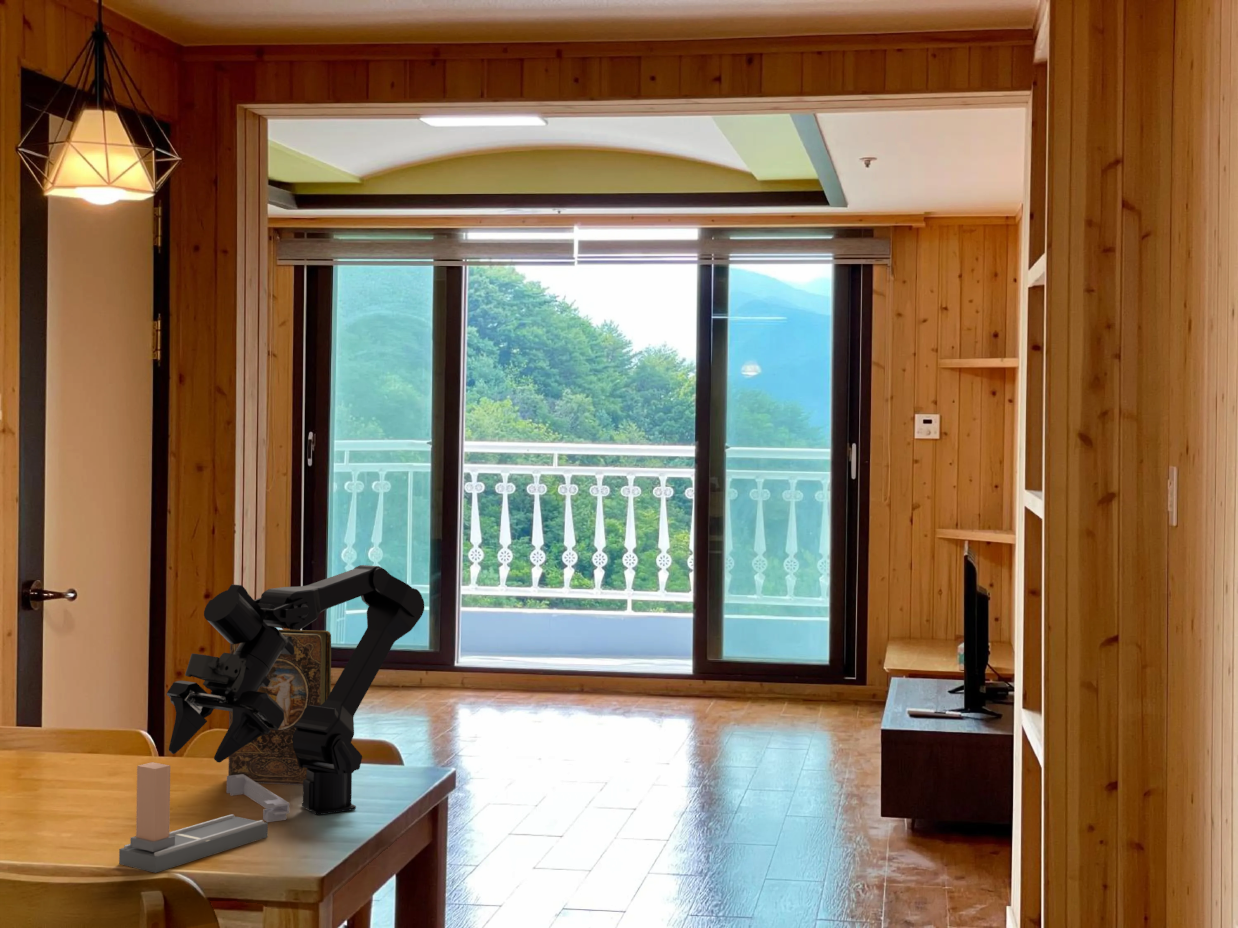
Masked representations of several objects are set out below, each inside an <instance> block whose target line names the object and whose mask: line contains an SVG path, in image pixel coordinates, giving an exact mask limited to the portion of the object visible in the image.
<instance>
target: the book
mask: <svg viewBox="0 0 1238 928" xmlns="http://www.w3.org/2000/svg"><path fill="white" fill-rule="evenodd" d="M278 630H279V631H280V632H281V633H282V635H284V636H291V637H292V644H293V646H294V651H295V653H294V654H293V655H288V654H280V655H279V656H278V658H277V660H276V661H275V663H274V665H273V666H272V668H271V670H270V671H269V673H268V675H267V676H266V677H267V678H268V679H269V680H270V681H271V682H270V683H269V685H268V687H262V686H260V688H259V690H258V691H257V692H263V693H267V694H268V695H269V696H270V697H271V698H272V699H273V700H274V701H275V702H276V703H277V704H278V705H279V706H280V707H281V708H282V709H283V710H284V721H283V722H282V724H281V726H280V727H279V729H278V730H272V729H270V732H269V734H263V735H262V736H260V737H258V738H257V739H255V740H253V741H252V742H250V743H248V744H247V745H245V746H244V747H242V748H241V749H239V750H238V751H236V752H235V753H233V754H232V755H230V756H229V757H228V768H227V770H228V774H227V776H232V775H240V774H244V775H245V776H247V777H248V778H250V779H252V780H253V781H255V782H256V783H258V784H270V785H272V784H274V785H293V786H294V785H295V786H296V785H297V786H298V785H299V786H300V785H302V786H303V780H304V779H306V769H308V768H300V767H299V765H298V761H297V758H296V754H295V752H294V748H293V742H292V737H293V734H294V732H295V730H296V728H295V727H294V725H295V724H296V723H298V721H299V720H300V718H301V716H302V714H303V712H304V710H305V708H306V707H307V706H308V705H313V706H320V705H321V704H323V703H324V702H325V701H326V699H327V698H328V696H329V694H330V692H331V691H332V688H331V687H332V634H331V632H330V631H329V630H307V629H305V630H304V629H298V630H295V629H278ZM239 644H240V643H239ZM239 644H231V643H229V653H231V654H234V652H235V651H236V649H237V648H238V646H239ZM228 712H229V715H228V716H229V719H228V728H229V727H230V725H231V723H232V715H233V712H232V711H228Z"/></svg>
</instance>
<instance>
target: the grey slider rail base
mask: <svg viewBox="0 0 1238 928" xmlns="http://www.w3.org/2000/svg"><path fill="white" fill-rule="evenodd" d="M268 823H269V822H265V821H264V820H263V819H260V820H254V819H250V818H245V817H239V816H235V814H233V813H232V814H228V815H225V816H221V817H218V818H213V819H211V820H207V821H203V822H200V823H196V824H194V825H190V826H187V827H183V828H180V829H176V830H172V831H169V835H171V836H175V845H174V846H171V847H168V848H164V849H161V850H158V851H154V852H152V851H147V850H143V849H139V848H134V847H130V843H128V844H125V845H124V847H121V848H119V852H118V853H119V854H118V855H119V857H118V862H119V863H118V865H123V866H126V867H130V868H134V869H139V870H141V871H147V872H152V873H155V874H156V873H159V872H163V871H165V870H168V869H171V868H174V867H177V866H181V865H184V864H188V863H190V862H193V861H196V860H199V859H203V858H206V857H208V856H213V855H216V854H219V853H221V852H225V851H229V850H231V849H235V848H238V847H240V846H245V845H246V844H251V843H252V842H255V841H260V840H263V839H265V838H268V837H269V836H268V835H269V834H268V830H269V829H268V828H269V826H268V825H269V824H268Z"/></svg>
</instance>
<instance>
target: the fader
mask: <svg viewBox="0 0 1238 928" xmlns="http://www.w3.org/2000/svg"><path fill="white" fill-rule="evenodd" d="M170 808H171V765H169V764H164V763H159V762H153V761H152V762H148V763H144V764H139V765H137V767H136V816H135V817H136V824H135V825H136V827H135V830H136V833H135V836H131V837H130V843H129V844H130V847H134V848H139V849H143V850H147V851H152V852H154V851H158V850H161V849H164V848H168V847H171V846H174V845H175V836H171V835H169V832H170V829H171V828H170V827H171V826H170V824H171V822H170V816H171V815H170V813H171V811H170V810H171V809H170Z"/></svg>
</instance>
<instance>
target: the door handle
mask: <svg viewBox="0 0 1238 928" xmlns="http://www.w3.org/2000/svg"><path fill="white" fill-rule="evenodd" d="M226 794H229V795H230V796H231V797H232V796H237V795H238V796H239V795H244V796H246V797H247V798H250V800H251V801H254V802H255V803H257V804H258V805H260V806H261V807H263V808H264V809H262V820H263V821H264V822H265V821H266V823H272V822H279V821H285V820H287V814H290V802H288V801H287V800H285V799H284V798H282V797H281V796H279V795H277V794H275V792H272V791H271V790H270V789H267V788H266V787H264V786H263V785H261V783H256V782H255V781H253V780H252V779H250V778H248V777H247V776H245V775H244V774H240V775H232V776H228V775H226Z"/></svg>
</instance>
